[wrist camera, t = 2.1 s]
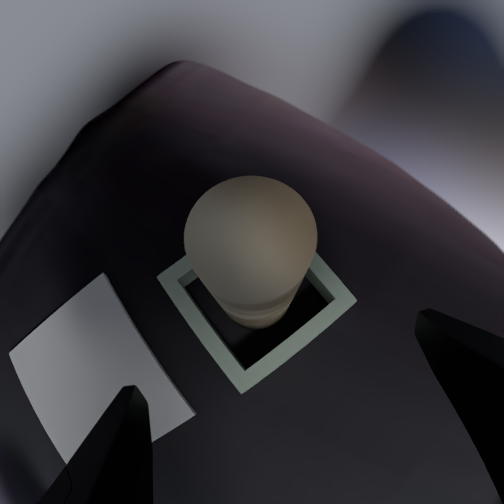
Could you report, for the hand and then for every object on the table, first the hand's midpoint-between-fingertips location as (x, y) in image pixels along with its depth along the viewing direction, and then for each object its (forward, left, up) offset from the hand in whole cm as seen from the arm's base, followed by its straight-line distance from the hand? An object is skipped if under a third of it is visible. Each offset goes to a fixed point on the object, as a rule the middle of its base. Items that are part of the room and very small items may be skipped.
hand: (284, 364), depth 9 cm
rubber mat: (-12, +6, -11) cm, 18 cm away
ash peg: (+2, +4, -11) cm, 12 cm away
